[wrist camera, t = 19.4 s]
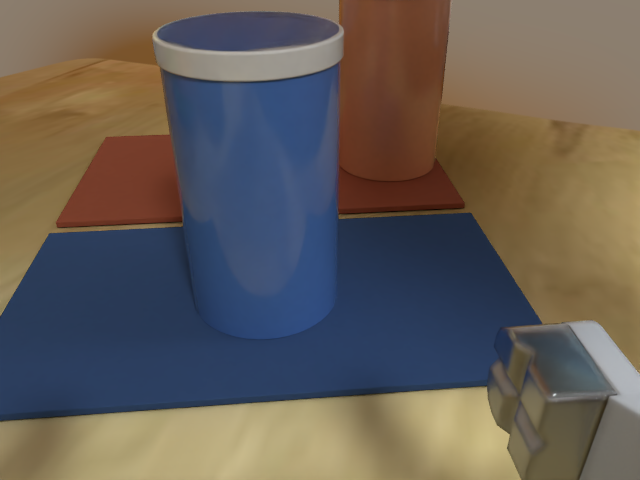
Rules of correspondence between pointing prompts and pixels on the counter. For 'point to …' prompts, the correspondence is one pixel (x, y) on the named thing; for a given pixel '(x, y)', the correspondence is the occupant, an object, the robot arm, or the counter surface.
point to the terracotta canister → (391, 86)
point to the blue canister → (256, 164)
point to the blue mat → (249, 354)
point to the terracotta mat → (163, 199)
